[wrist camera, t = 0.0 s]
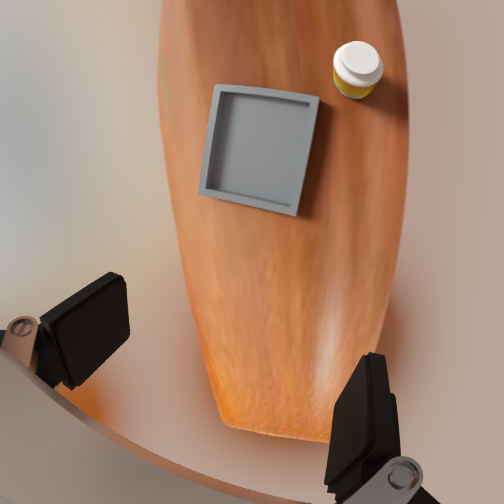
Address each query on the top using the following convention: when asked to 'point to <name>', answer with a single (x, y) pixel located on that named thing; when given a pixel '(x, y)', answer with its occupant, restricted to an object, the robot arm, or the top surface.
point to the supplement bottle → (357, 69)
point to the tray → (258, 146)
